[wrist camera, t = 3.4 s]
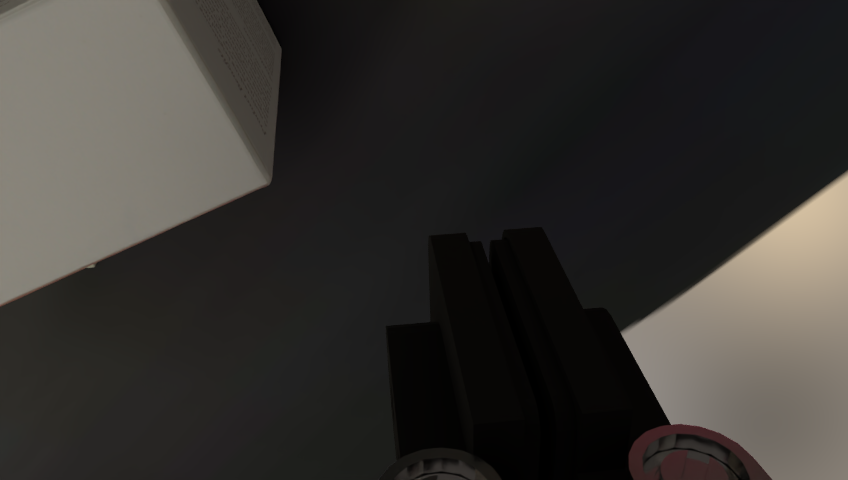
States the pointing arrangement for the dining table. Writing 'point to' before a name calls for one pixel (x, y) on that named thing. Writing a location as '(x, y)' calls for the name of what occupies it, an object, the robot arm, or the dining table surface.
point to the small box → (125, 125)
